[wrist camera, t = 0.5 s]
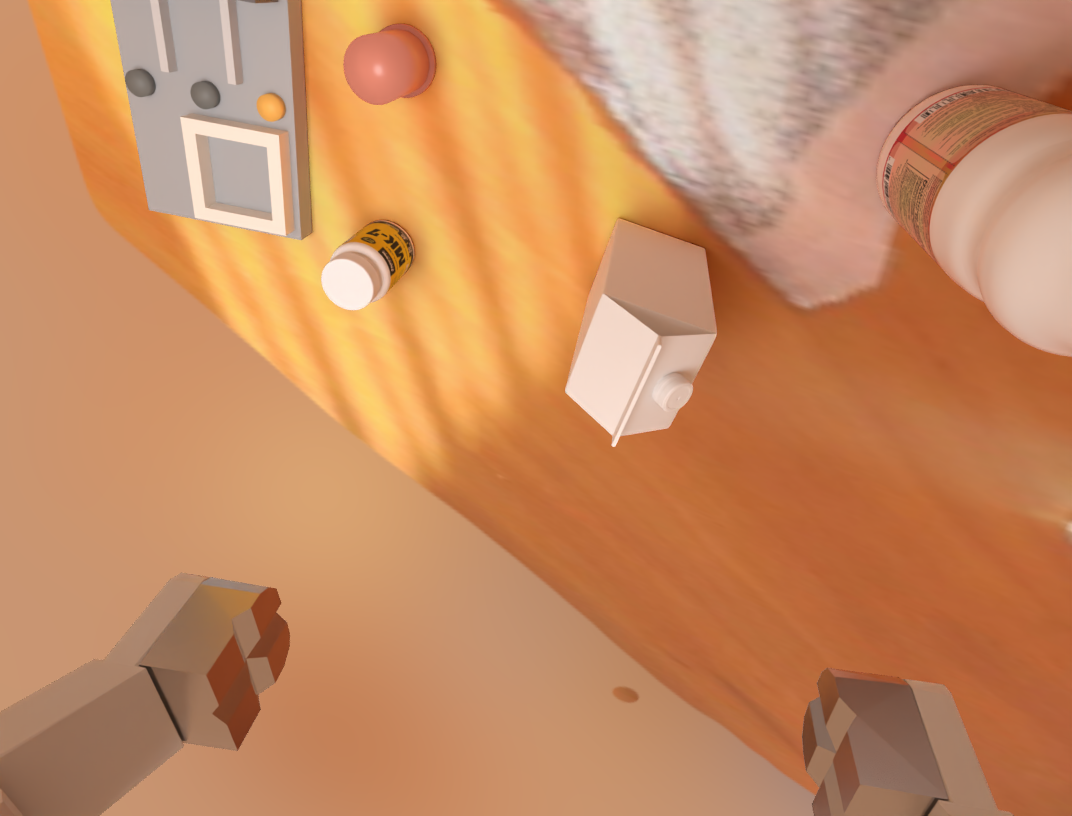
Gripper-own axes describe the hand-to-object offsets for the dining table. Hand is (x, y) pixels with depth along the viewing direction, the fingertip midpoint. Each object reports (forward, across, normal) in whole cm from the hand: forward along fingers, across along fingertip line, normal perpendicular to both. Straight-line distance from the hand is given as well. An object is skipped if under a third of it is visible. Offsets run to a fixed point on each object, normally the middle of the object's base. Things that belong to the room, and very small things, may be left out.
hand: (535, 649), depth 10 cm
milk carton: (+45, -2, +12) cm, 46 cm away
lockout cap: (+45, +17, -3) cm, 48 cm away
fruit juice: (+45, -21, +2) cm, 49 cm away
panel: (+44, +31, -2) cm, 54 cm away
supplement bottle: (+45, +20, +11) cm, 50 cm away
